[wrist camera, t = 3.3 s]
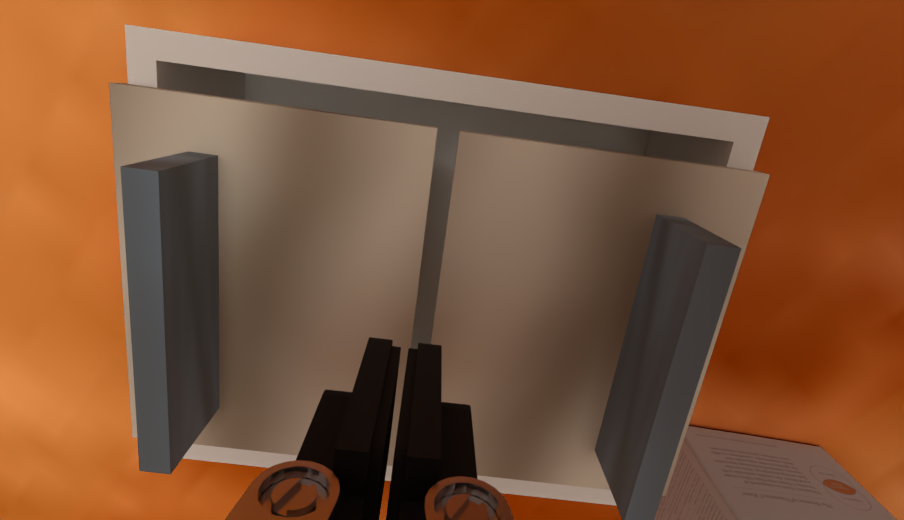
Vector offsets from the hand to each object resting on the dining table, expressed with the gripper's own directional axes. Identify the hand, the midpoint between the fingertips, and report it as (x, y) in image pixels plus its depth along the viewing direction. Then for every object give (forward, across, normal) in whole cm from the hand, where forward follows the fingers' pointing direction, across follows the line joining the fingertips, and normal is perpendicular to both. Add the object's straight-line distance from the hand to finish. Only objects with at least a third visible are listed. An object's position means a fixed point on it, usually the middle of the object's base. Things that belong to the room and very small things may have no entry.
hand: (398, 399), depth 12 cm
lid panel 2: (+4, -5, 0) cm, 7 cm away
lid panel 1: (+5, +4, 0) cm, 6 cm away
